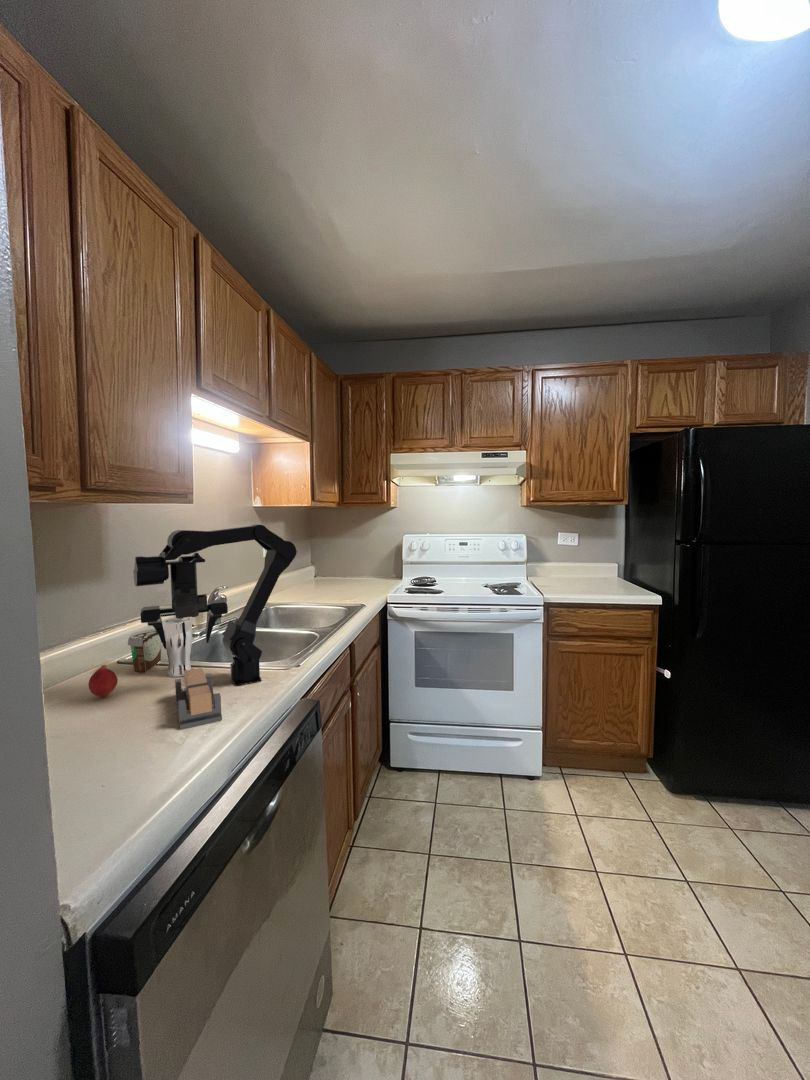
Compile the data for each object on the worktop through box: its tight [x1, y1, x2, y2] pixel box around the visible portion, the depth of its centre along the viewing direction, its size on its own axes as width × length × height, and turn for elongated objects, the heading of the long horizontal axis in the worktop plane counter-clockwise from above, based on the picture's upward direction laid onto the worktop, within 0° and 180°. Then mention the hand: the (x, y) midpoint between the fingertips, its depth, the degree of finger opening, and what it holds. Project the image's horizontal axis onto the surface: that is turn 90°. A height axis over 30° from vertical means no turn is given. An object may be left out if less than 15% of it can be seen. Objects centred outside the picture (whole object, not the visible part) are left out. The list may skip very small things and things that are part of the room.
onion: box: [87, 664, 118, 699], centre depth 110 cm, size 6×6×8 cm
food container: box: [127, 628, 162, 674], centre depth 131 cm, size 12×6×10 cm, turn 4°
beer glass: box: [163, 617, 193, 678], centre depth 126 cm, size 7×7×15 cm
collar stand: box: [174, 673, 223, 731], centre depth 103 cm, size 8×18×5 cm, turn 29°
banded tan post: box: [183, 667, 212, 715], centre depth 103 cm, size 4×18×4 cm, turn 30°
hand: (186, 645), depth 111 cm, fingers open, 9 cm apart
